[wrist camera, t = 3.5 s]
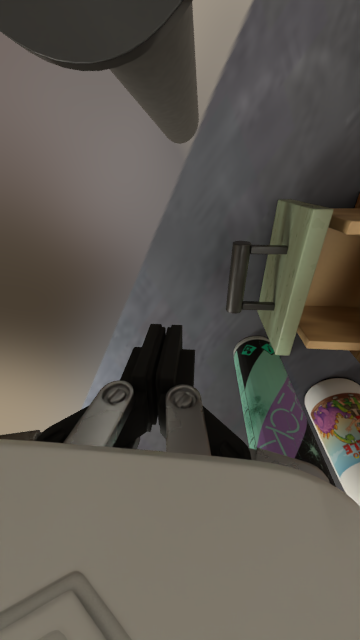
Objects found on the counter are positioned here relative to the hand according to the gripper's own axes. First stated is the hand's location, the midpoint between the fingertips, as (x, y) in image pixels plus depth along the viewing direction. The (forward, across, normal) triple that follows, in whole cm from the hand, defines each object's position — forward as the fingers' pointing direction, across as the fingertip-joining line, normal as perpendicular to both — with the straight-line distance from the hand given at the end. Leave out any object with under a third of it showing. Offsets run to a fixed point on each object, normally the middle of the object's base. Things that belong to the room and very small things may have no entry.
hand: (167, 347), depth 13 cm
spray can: (+15, -9, +12) cm, 21 cm away
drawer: (+14, -13, -1) cm, 19 cm away
